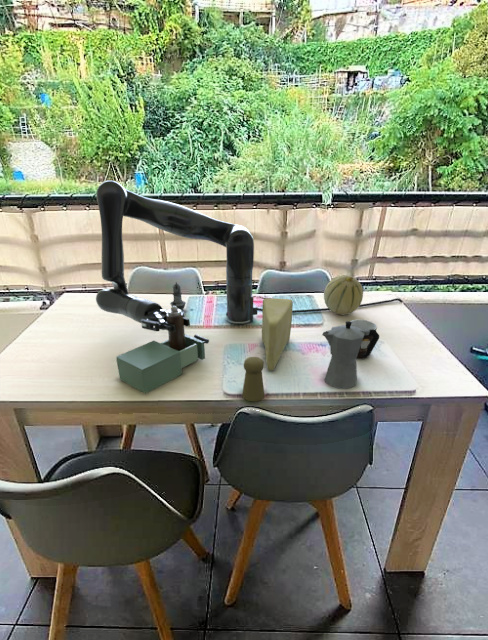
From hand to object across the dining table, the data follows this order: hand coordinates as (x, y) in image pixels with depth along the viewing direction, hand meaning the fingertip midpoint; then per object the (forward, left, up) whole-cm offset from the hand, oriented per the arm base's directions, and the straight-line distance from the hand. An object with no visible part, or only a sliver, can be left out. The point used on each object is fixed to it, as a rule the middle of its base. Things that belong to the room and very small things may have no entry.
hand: (181, 325), depth 120 cm
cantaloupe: (-62, -30, -13) cm, 70 cm away
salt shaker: (0, -42, -13) cm, 44 cm away
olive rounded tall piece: (-17, +21, -13) cm, 30 cm away
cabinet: (+10, +6, -13) cm, 17 cm away
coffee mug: (-53, +3, -13) cm, 55 cm away
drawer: (0, -2, -12) cm, 12 cm away
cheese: (-28, -1, -13) cm, 31 cm away
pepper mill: (+2, -2, -11) cm, 11 cm away
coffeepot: (-44, +18, -13) cm, 49 cm away
